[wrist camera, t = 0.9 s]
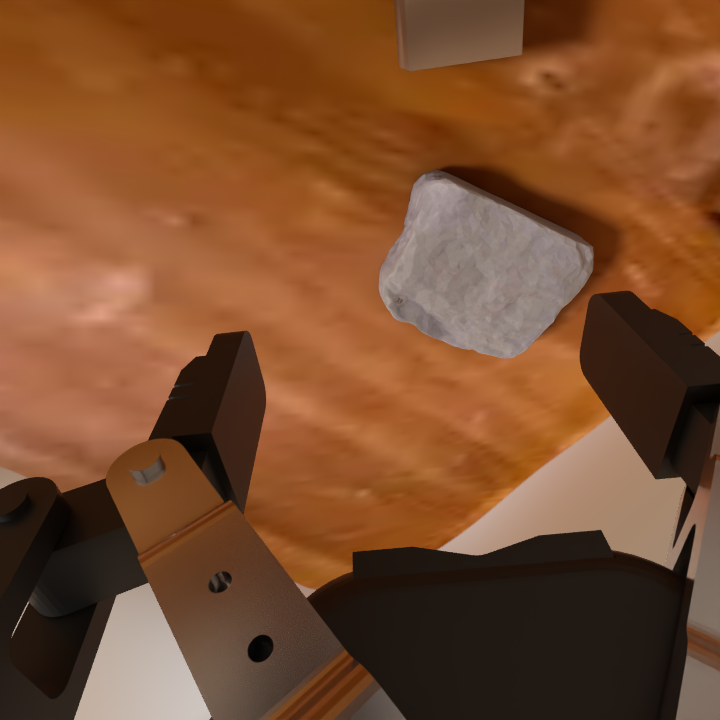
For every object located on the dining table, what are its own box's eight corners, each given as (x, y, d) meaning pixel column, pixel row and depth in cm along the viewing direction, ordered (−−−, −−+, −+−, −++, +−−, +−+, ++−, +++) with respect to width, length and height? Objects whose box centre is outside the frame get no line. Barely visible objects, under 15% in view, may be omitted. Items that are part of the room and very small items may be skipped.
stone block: (505, 334, 37) (596, 225, 31) (514, 378, 34) (619, 266, 27) (363, 278, 35) (428, 147, 28) (357, 319, 31) (429, 181, 25)
